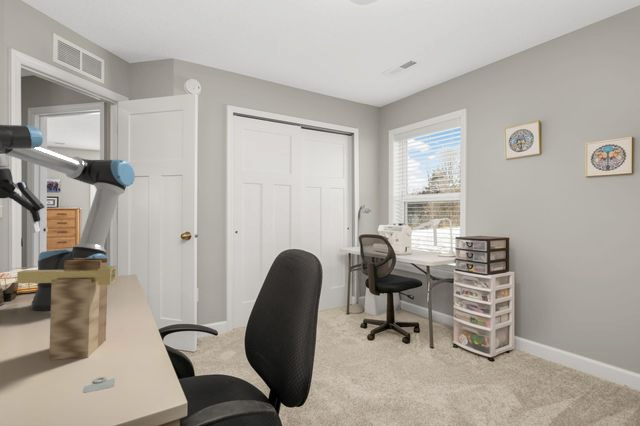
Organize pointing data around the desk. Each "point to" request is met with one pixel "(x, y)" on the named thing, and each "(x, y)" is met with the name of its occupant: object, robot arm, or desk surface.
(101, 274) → the golden wooden bar
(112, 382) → the mounting bracket
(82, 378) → the desk surface
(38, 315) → the desk surface
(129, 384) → the desk surface
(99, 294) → the hinge block
